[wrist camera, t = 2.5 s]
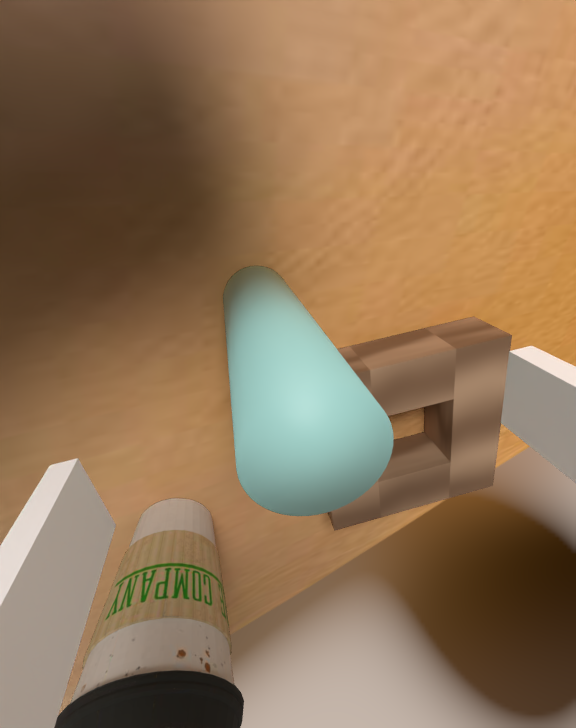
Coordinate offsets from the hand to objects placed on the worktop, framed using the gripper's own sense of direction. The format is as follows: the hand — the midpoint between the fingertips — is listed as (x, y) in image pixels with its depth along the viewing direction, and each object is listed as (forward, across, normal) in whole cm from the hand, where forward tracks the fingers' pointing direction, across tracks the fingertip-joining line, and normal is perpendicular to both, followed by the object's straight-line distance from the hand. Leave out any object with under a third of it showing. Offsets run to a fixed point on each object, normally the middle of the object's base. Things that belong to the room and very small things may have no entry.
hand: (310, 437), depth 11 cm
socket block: (+15, +9, -12) cm, 21 cm away
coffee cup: (+15, -11, -18) cm, 26 cm away
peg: (+15, 0, 0) cm, 15 cm away
